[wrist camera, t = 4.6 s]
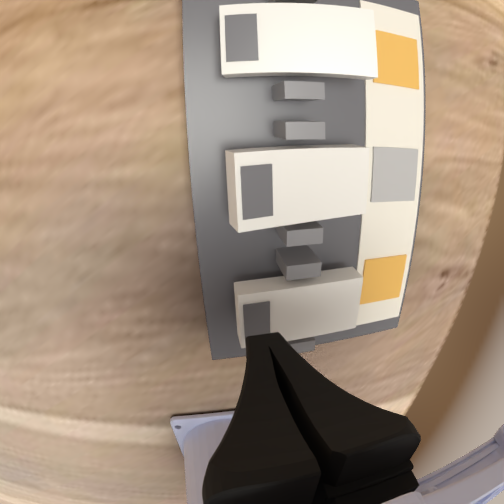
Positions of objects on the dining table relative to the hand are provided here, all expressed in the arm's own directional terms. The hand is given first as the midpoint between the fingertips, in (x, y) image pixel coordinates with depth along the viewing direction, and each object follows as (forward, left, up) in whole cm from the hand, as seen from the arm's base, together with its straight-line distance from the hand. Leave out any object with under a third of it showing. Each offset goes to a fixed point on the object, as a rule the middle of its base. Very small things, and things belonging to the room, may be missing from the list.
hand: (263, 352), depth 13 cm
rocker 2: (+6, -2, -3) cm, 7 cm away
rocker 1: (+12, -2, -3) cm, 13 cm away
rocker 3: (0, -2, -3) cm, 4 cm away
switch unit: (+6, -4, -6) cm, 9 cm away
